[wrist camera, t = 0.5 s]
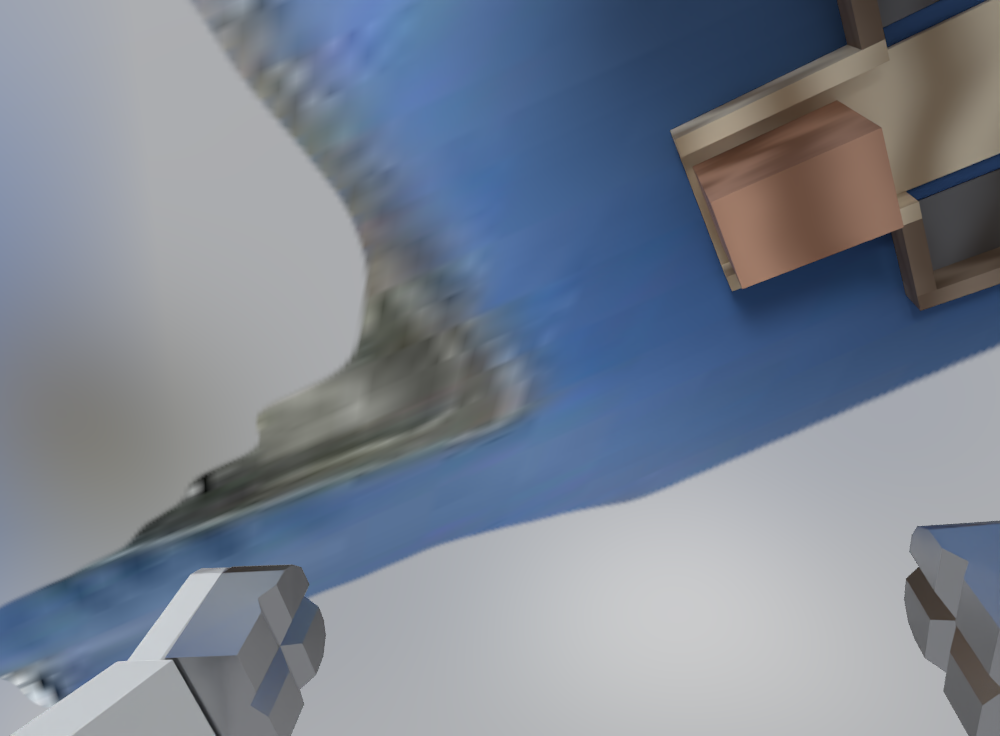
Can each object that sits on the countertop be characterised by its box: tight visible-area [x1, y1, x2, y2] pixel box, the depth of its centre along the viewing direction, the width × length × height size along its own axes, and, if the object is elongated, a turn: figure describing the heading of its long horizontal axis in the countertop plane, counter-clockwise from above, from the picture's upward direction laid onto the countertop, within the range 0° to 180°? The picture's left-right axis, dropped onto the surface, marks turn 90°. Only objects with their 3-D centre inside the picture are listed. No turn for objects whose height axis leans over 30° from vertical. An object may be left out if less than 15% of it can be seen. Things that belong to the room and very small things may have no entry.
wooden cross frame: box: [670, 0, 1000, 311], centre depth 38 cm, size 28×25×2 cm
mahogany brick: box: [693, 100, 904, 289], centre depth 39 cm, size 9×6×7 cm, turn 118°
